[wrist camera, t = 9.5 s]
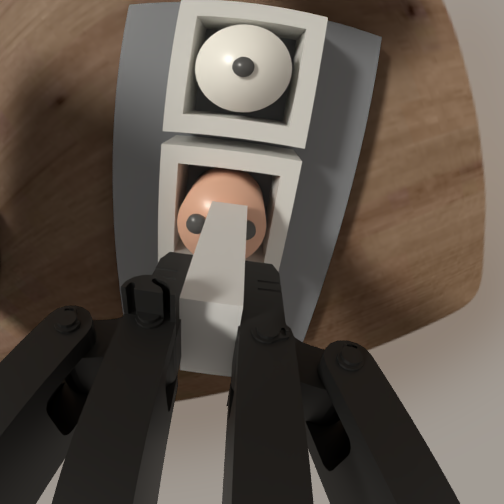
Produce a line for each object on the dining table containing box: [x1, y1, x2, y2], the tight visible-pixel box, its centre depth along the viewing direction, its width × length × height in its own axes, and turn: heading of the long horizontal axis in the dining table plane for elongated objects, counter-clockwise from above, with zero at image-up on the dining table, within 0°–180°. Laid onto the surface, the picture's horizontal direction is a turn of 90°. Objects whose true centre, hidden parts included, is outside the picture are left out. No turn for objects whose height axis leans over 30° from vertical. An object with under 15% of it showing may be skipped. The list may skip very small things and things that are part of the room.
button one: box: [195, 24, 292, 112], centre depth 12 cm, size 4×4×3 cm
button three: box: [177, 167, 266, 259], centre depth 15 cm, size 4×4×3 cm
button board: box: [113, 0, 382, 342], centre depth 17 cm, size 14×22×4 cm, turn 172°
